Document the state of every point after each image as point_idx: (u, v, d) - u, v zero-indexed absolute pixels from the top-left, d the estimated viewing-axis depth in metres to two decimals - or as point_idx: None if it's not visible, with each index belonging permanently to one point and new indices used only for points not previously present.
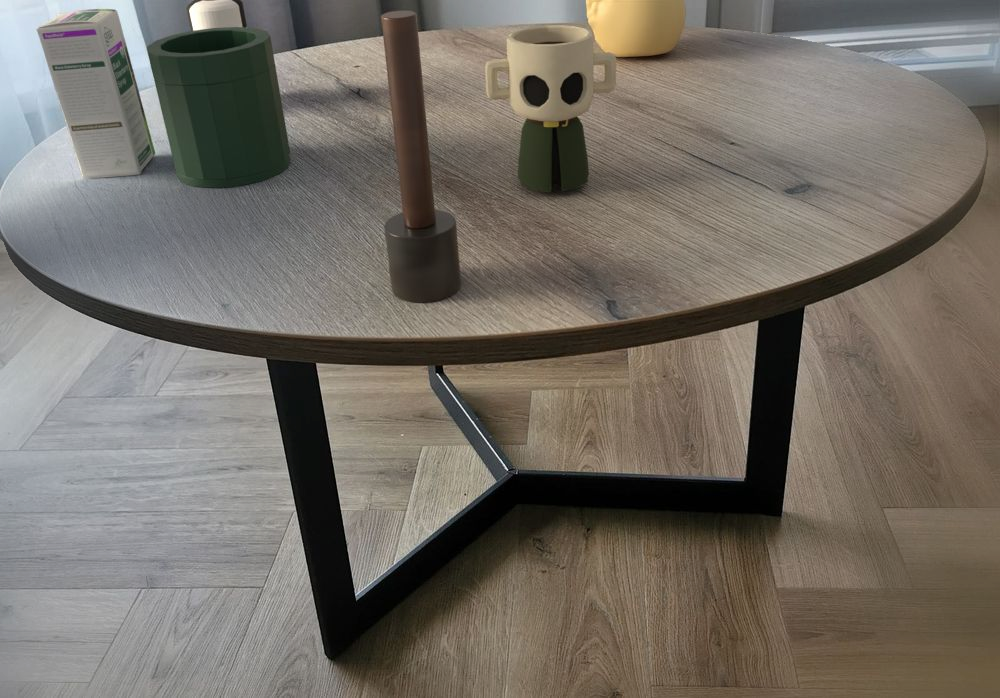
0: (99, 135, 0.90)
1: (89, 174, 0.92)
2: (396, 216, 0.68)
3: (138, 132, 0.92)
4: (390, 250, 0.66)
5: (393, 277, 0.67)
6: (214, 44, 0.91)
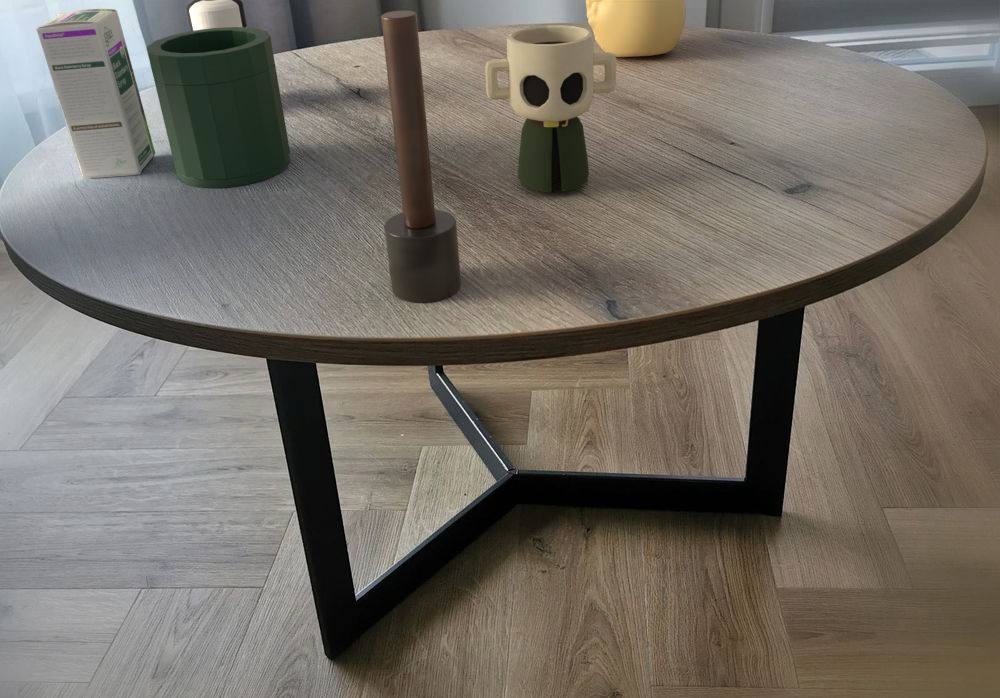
0: (99, 135, 0.90)
1: (89, 174, 0.92)
2: (396, 216, 0.68)
3: (138, 132, 0.92)
4: (390, 250, 0.66)
5: (393, 277, 0.67)
6: (214, 44, 0.91)
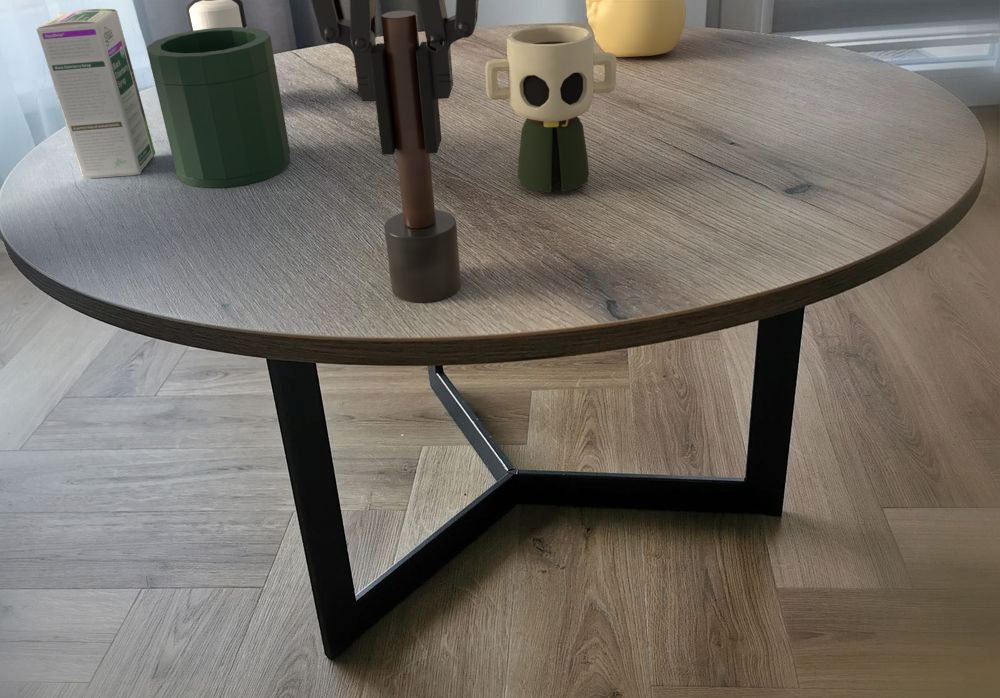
0: (99, 135, 0.90)
1: (89, 174, 0.92)
2: (396, 216, 0.68)
3: (138, 132, 0.92)
4: (390, 250, 0.66)
5: (393, 277, 0.67)
6: (214, 44, 0.91)
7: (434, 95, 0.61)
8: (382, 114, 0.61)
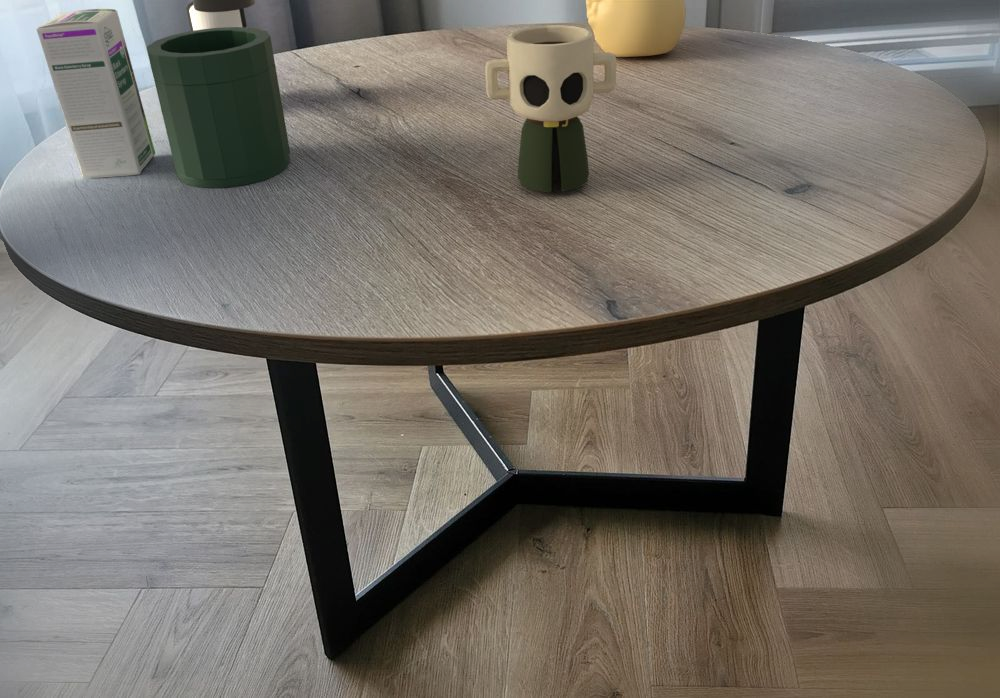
0: (99, 135, 0.90)
1: (89, 174, 0.92)
2: None
3: (138, 132, 0.92)
4: None
5: None
6: (214, 44, 0.91)
7: None
8: None
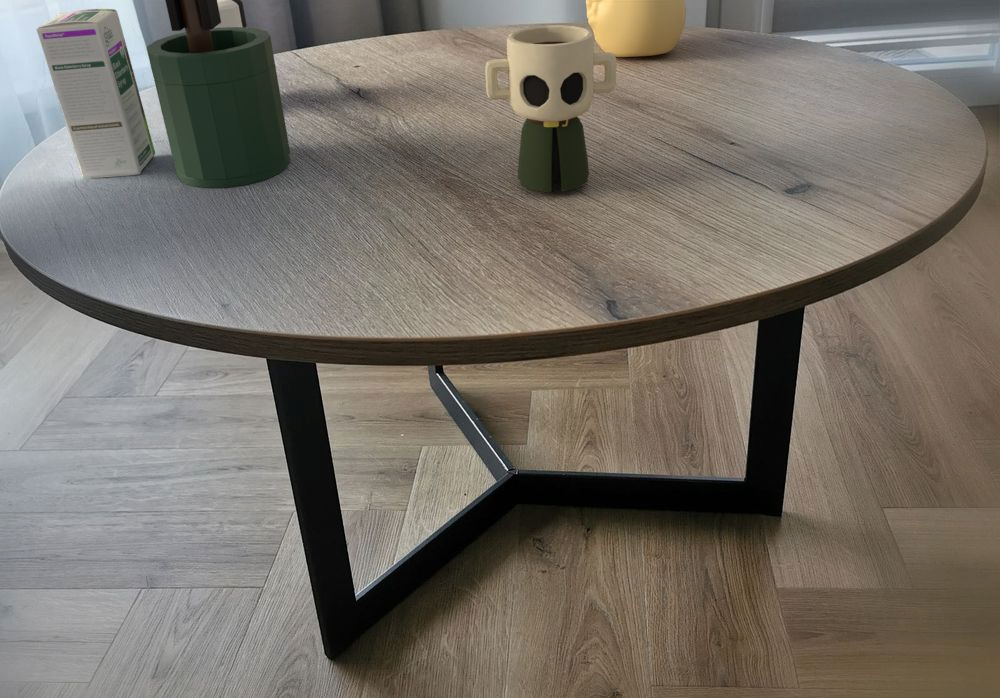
0: (99, 135, 0.90)
1: (89, 174, 0.92)
2: None
3: (138, 132, 0.92)
4: None
5: None
6: (214, 44, 0.91)
7: None
8: None
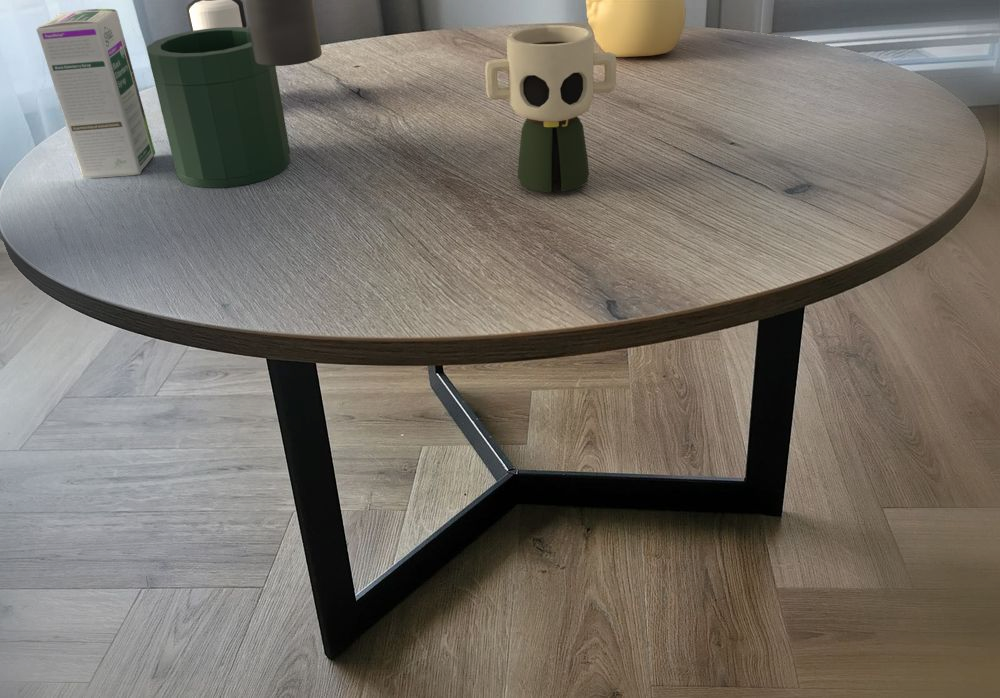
0: (99, 135, 0.90)
1: (89, 174, 0.92)
2: None
3: (138, 132, 0.92)
4: (247, 13, 0.69)
5: (253, 42, 0.70)
6: (214, 44, 0.91)
7: None
8: None
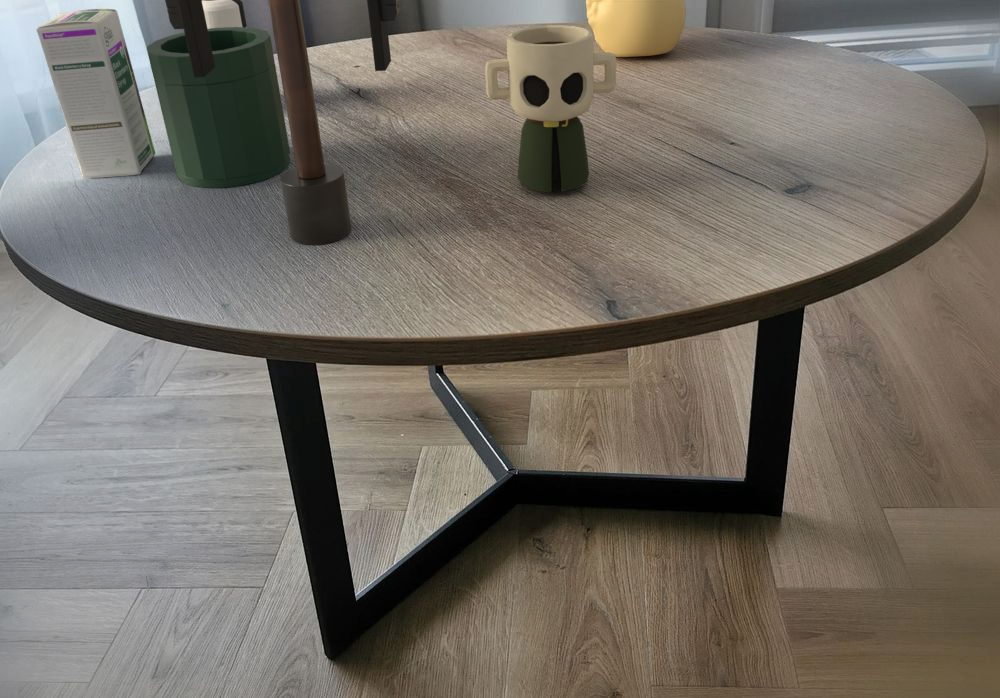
0: (99, 135, 0.90)
1: (89, 174, 0.92)
2: (292, 169, 0.77)
3: (138, 132, 0.92)
4: (285, 198, 0.76)
5: (289, 223, 0.77)
6: (214, 44, 0.91)
7: (382, 17, 0.69)
8: (190, 40, 0.70)
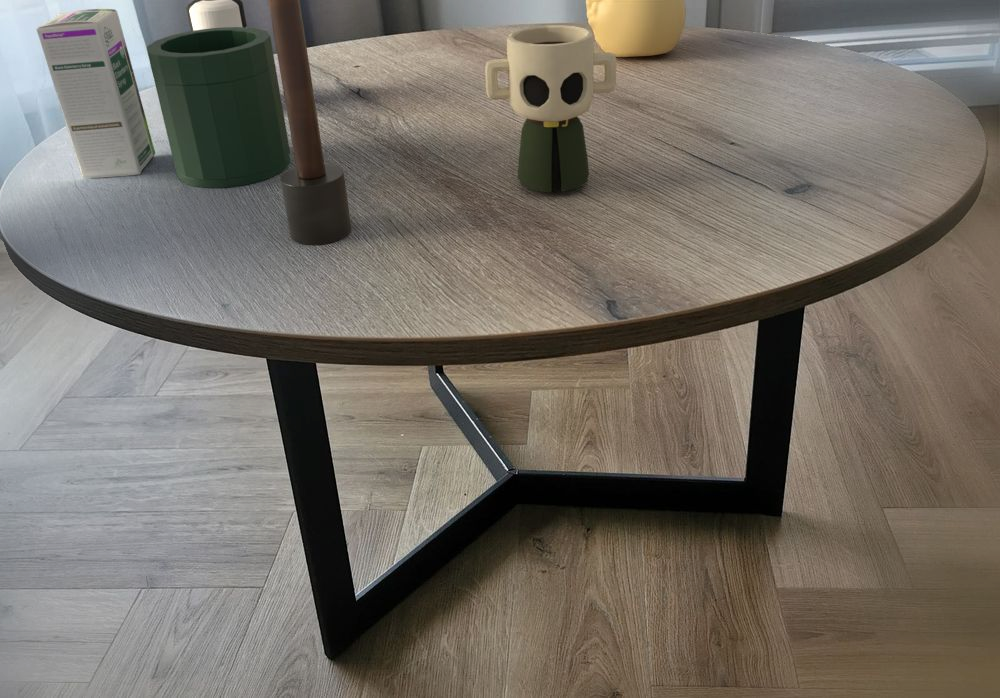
0: (99, 135, 0.90)
1: (89, 174, 0.92)
2: (292, 169, 0.77)
3: (138, 132, 0.92)
4: (285, 198, 0.76)
5: (289, 223, 0.77)
6: (214, 44, 0.91)
7: None
8: None
